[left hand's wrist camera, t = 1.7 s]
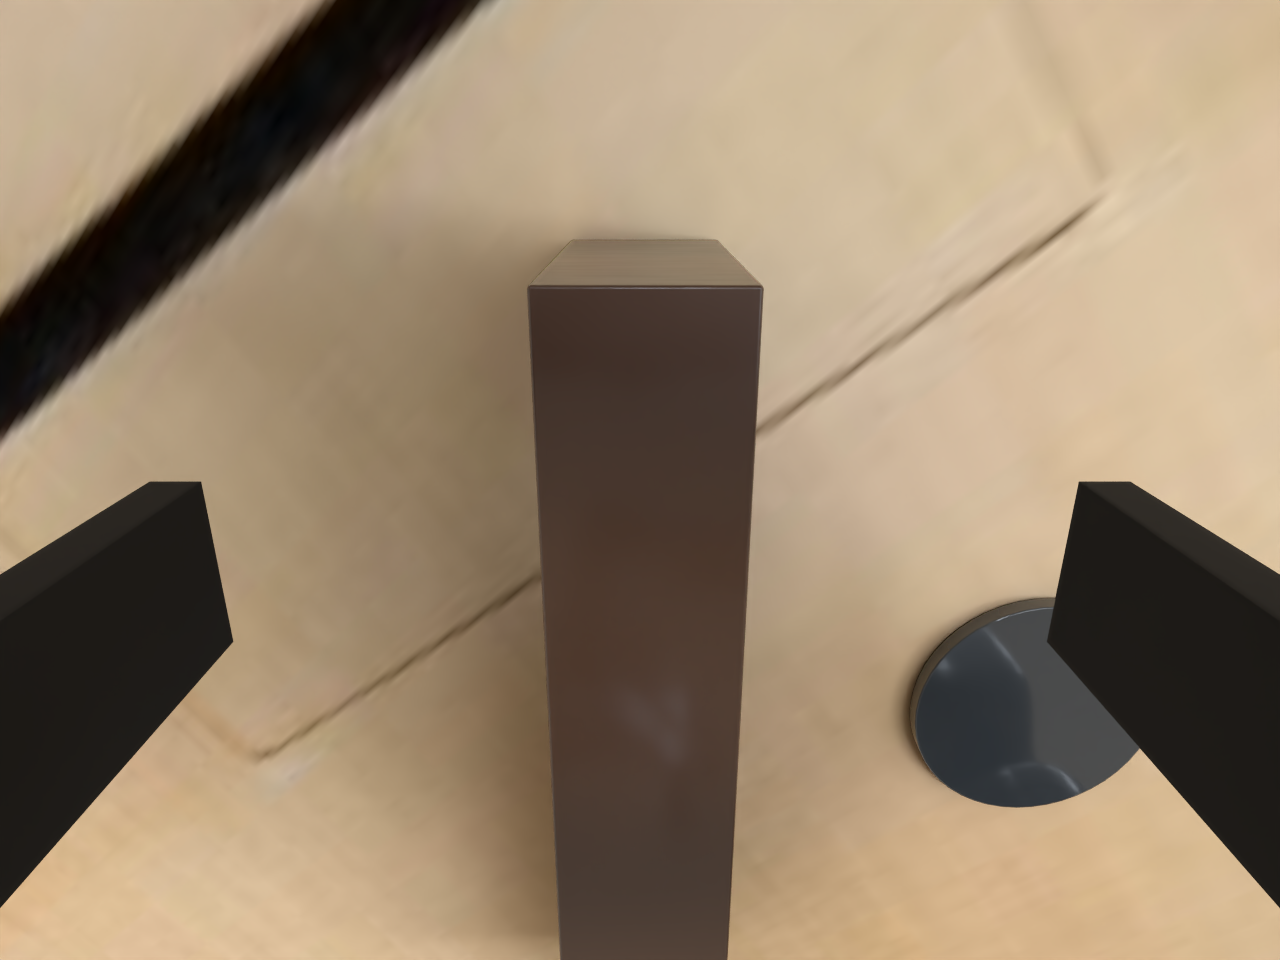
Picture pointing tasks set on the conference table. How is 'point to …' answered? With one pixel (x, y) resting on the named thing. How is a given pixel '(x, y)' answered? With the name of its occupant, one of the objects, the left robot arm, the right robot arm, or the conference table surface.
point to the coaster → (1012, 714)
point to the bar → (644, 583)
